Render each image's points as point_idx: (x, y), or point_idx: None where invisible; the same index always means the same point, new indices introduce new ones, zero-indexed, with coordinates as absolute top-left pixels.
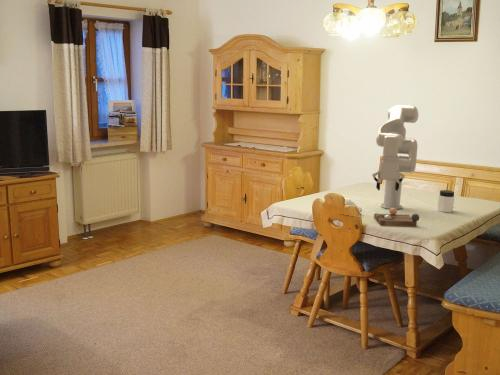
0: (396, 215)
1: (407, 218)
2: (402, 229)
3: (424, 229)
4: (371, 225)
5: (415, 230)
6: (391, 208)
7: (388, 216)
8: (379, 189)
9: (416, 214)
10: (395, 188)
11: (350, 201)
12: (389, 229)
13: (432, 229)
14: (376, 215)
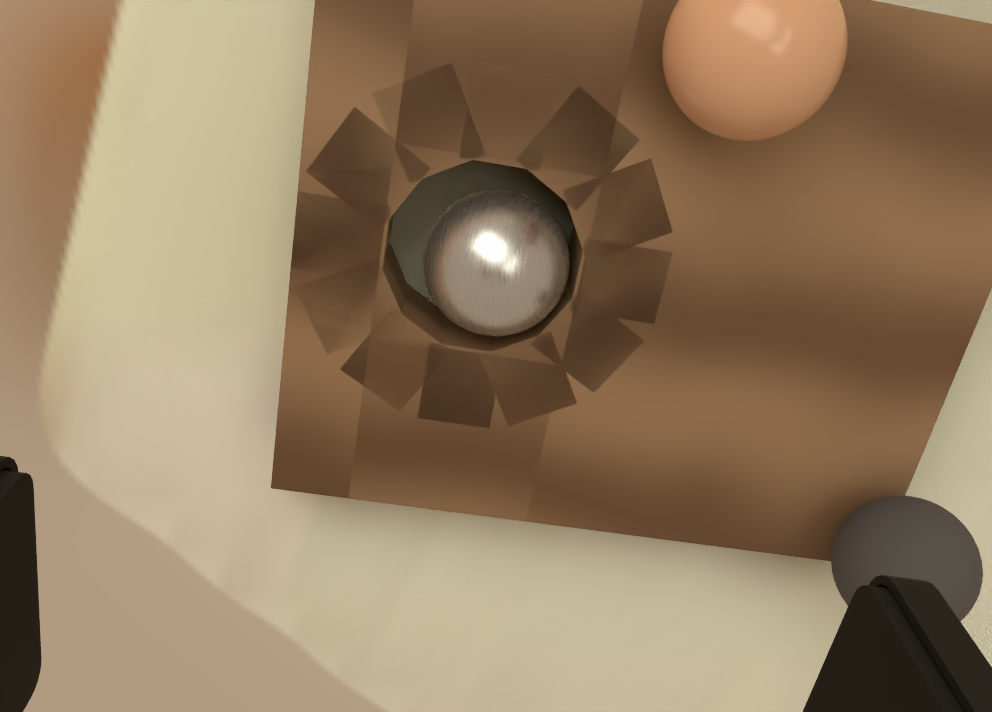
0: None
1: (861, 349)
2: (542, 644)
3: None
4: (126, 442)
5: (704, 688)
6: (721, 50)
7: (490, 330)
8: (14, 699)
9: None
10: (854, 695)
11: None
12: (347, 641)
13: (981, 651)
14: (317, 84)
